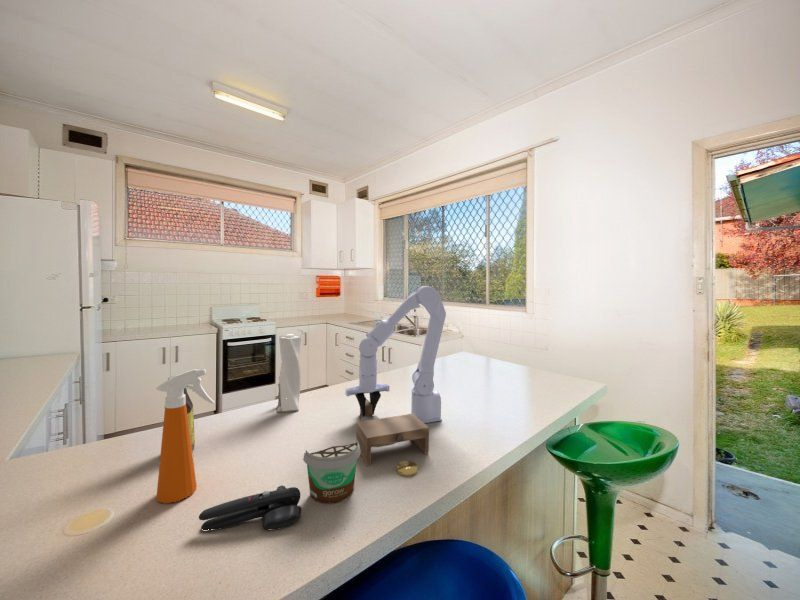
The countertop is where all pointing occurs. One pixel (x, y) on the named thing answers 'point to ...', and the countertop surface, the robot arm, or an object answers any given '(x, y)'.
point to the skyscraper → (289, 373)
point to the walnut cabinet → (391, 433)
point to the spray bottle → (178, 438)
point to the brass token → (407, 468)
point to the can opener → (256, 510)
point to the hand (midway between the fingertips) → (367, 414)
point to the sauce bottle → (189, 416)
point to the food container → (332, 472)
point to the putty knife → (368, 412)
